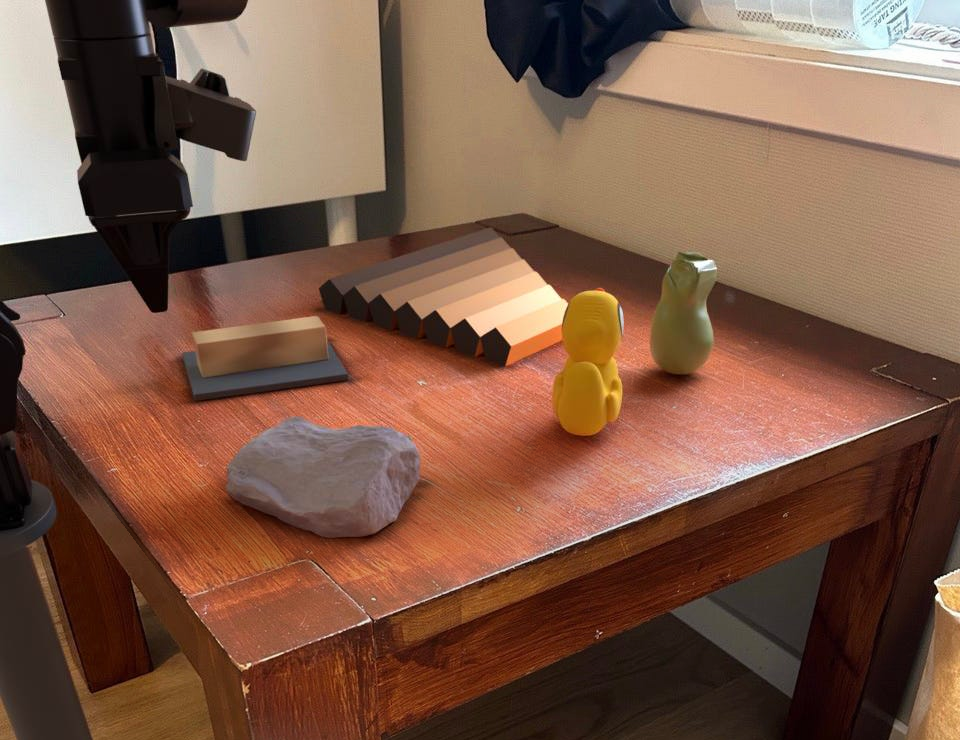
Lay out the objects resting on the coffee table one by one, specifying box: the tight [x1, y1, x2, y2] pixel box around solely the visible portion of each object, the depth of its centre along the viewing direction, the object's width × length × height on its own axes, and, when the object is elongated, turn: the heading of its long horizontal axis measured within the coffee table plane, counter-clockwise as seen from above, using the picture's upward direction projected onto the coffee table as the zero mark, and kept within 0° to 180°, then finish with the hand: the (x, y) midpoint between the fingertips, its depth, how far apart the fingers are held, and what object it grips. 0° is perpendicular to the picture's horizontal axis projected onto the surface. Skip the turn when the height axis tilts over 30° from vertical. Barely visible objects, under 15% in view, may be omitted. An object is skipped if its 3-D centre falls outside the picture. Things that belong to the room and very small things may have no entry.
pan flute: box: [318, 226, 569, 367], centre depth 99 cm, size 25×3×25 cm
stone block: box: [225, 416, 421, 539], centre depth 66 cm, size 12×5×10 cm
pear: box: [649, 251, 718, 376], centre depth 82 cm, size 6×5×10 cm
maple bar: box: [191, 315, 329, 378], centre depth 84 cm, size 11×3×3 cm, turn 112°
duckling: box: [552, 287, 625, 437], centre depth 73 cm, size 11×5×10 cm, turn 169°
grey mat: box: [182, 339, 350, 402], centre depth 85 cm, size 13×10×1 cm
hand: (154, 291), depth 69 cm, fingers open, 9 cm apart
